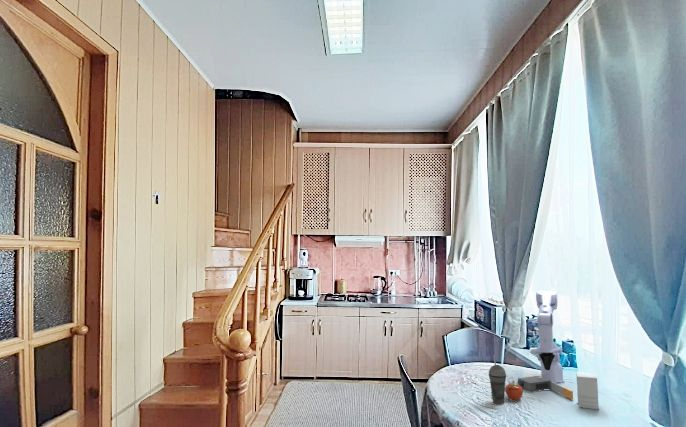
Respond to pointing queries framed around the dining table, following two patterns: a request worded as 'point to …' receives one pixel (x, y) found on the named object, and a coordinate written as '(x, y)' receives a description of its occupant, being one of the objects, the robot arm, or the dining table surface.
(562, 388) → the side door
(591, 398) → the supplement box
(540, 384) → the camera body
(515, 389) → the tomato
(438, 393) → the dining table surface
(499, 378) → the beverage cup
